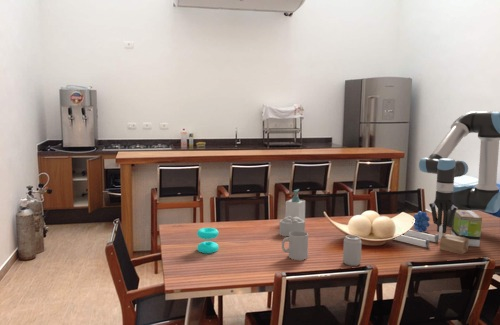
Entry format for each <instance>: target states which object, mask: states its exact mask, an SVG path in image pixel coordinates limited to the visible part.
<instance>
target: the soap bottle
mask: <svg viewBox="0 0 500 325" xmlns="http://www.w3.org/2000/svg"><path fill="white" fill-rule="evenodd" d="M299 191H300V188H297V189H294V190H293V193H294V195H293V196H292V198H290V199H288V200H286V201H285V210H284V211H285V215H284V218H286V217H287V216H291V217H292V218H293V217H299V218H300V219H302V220H304V221H305V222H306V200H305V199H300V198H299V196H298V192H299Z"/></svg>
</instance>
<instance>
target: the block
mask: <svg viewBox="0 0 500 325" xmlns="http://www.w3.org/2000/svg"><path fill="white" fill-rule="evenodd" d="M439 240H440V239H439ZM468 244H469V239H468V238H464V237H459V236H455V235H451V233H450V234H449V233H445V234H444V236H442V237H441V240H440V242H439V250H442V251H446V252H448V253H449V252H451V253H453V254H458V255H464V254H465V253H467V252H468V251H469V246H468Z"/></svg>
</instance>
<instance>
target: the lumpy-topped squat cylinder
mask: <svg viewBox="0 0 500 325" xmlns="http://www.w3.org/2000/svg"><path fill="white" fill-rule="evenodd" d="M278 227H279V231H278V232H279V234H280V235H279V236H281V235H282V237H286V236H289V233H290V232H292V231H304V232H306V230H305V229H306V228H305V227H306V220H305V221H304V220H302V219H300V218H299V217H293V218H292V217H291V216H287V217H286V218H285V217H283V218H282V219H280V220H279V226H278Z"/></svg>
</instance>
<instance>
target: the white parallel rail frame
mask: <svg viewBox="0 0 500 325" xmlns="http://www.w3.org/2000/svg"><path fill="white" fill-rule="evenodd" d="M408 230H409V231H408V232H406V233H405V234H404V235H403V234H400V235H401V236H399V237H397V238H395V239H393V240H394V241H398V242H402V243H407V244H411V245H414V246H419V247H423V248H427V249H428V248H430V242H434V243H439V239H438V238H439V233H435V235H434V234H429V233H426V232H418V230H412V229H408Z"/></svg>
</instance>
